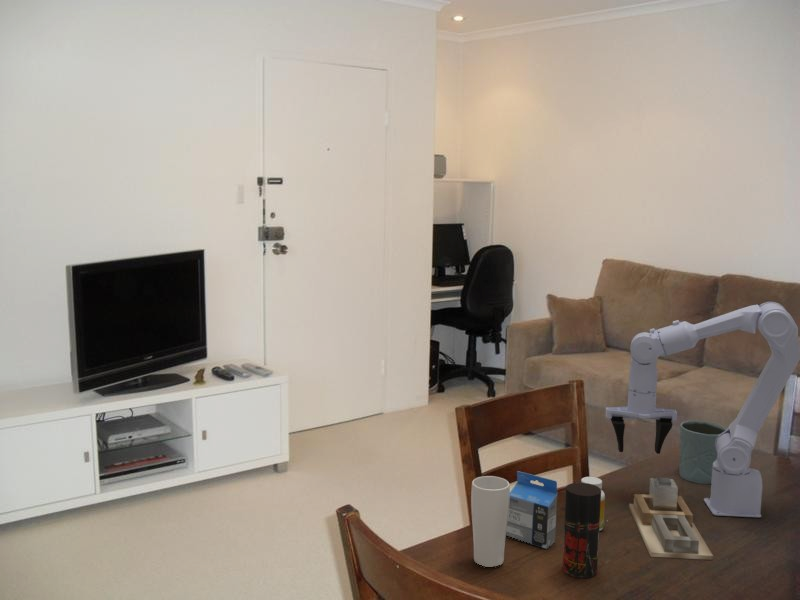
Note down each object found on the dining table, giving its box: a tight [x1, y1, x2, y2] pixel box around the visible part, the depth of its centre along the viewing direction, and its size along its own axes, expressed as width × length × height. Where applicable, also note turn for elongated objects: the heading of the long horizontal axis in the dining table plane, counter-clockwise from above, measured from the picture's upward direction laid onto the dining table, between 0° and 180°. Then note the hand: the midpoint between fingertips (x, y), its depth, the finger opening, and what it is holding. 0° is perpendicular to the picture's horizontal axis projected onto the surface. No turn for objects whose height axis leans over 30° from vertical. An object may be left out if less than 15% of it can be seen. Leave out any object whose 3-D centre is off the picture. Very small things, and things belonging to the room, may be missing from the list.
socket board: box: [628, 493, 714, 561], centre depth 157 cm, size 11×22×3 cm, turn 174°
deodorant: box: [562, 482, 602, 579], centre depth 141 cm, size 6×6×15 cm
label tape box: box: [506, 470, 558, 549], centre depth 153 cm, size 9×4×12 cm, turn 53°
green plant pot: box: [679, 420, 727, 485], centre depth 185 cm, size 10×10×12 cm
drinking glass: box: [470, 475, 511, 568], centre depth 144 cm, size 7×7×15 cm
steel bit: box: [648, 477, 679, 511], centre depth 163 cm, size 4×4×8 cm
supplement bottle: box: [580, 476, 606, 532], centre depth 159 cm, size 5×5×10 cm
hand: (638, 451), depth 173 cm, fingers open, 7 cm apart
